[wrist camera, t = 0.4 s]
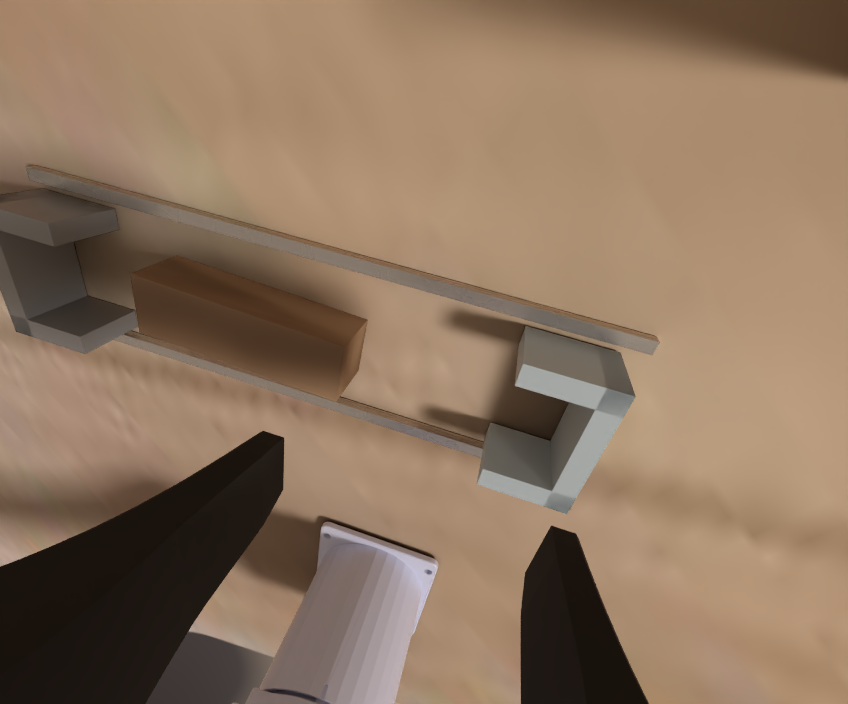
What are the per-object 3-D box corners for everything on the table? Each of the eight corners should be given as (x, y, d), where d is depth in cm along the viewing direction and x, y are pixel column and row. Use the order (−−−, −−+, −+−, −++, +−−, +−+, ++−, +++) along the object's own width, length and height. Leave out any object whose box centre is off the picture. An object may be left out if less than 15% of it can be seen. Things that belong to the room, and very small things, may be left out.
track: (575, 480, 21) (575, 488, 21) (80, 323, 24) (72, 326, 24) (656, 336, 17) (659, 342, 16) (36, 165, 20) (25, 166, 19)
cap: (563, 461, 21) (566, 513, 18) (484, 437, 21) (476, 484, 18) (620, 352, 17) (635, 396, 14) (525, 325, 18) (523, 363, 15)
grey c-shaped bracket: (138, 326, 23) (85, 354, 21) (76, 306, 24) (16, 331, 21) (114, 208, 20) (47, 223, 17) (43, 188, 20) (-34, 199, 18)
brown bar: (360, 368, 21) (335, 401, 19) (185, 307, 22) (139, 332, 20) (369, 317, 20) (344, 347, 17) (180, 254, 21) (130, 273, 18)
